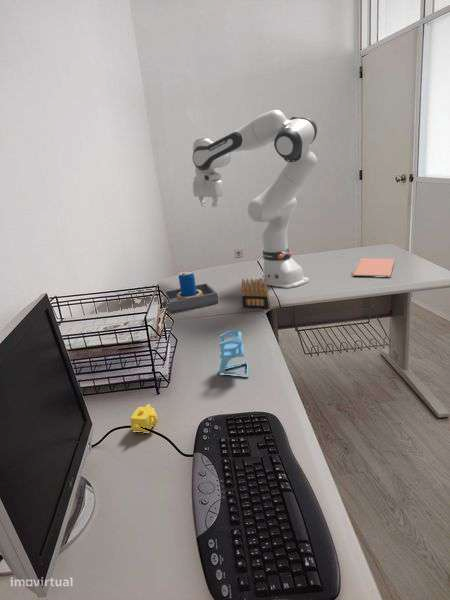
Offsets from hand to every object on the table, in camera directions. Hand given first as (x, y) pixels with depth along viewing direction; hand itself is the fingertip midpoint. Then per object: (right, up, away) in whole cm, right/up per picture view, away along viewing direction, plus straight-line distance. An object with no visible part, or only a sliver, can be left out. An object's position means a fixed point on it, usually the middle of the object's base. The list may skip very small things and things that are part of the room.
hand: (209, 206), depth 193 cm
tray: (-7, -45, -19) cm, 50 cm away
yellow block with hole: (-10, -75, -98) cm, 124 cm away
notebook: (+77, -31, -3) cm, 83 cm away
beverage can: (-7, -45, -19) cm, 49 cm away
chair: (+10, -65, -78) cm, 102 cm away
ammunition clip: (+20, -48, -33) cm, 61 cm away
